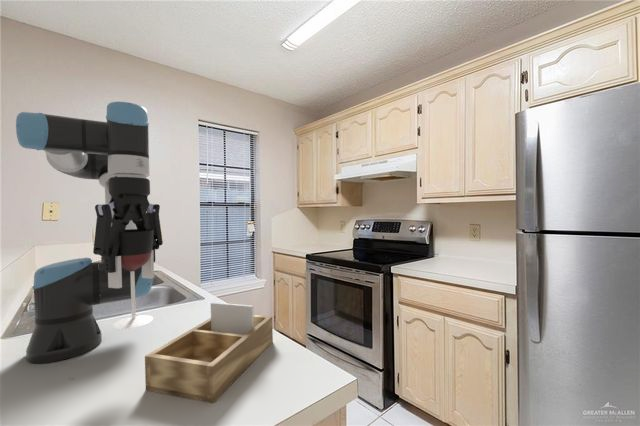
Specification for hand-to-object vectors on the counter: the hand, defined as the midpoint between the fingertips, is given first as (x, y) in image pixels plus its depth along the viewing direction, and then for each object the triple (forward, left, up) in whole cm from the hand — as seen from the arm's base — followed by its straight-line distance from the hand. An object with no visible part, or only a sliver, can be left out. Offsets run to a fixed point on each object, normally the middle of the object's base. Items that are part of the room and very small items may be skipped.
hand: (132, 282), depth 64 cm
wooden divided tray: (+14, +10, -21) cm, 27 cm away
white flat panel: (+14, +16, -20) cm, 29 cm away
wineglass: (0, 0, -9) cm, 9 cm away
